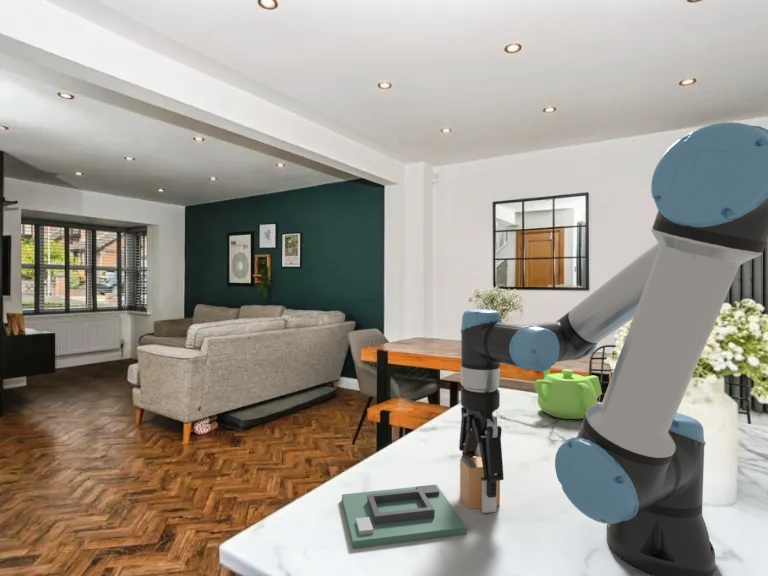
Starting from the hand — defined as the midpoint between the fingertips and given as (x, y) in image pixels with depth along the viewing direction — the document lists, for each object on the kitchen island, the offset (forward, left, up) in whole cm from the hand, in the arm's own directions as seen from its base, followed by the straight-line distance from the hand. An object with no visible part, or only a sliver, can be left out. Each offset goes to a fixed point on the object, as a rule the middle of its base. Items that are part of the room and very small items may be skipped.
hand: (479, 499), depth 89 cm
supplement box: (+15, -9, 0) cm, 18 cm away
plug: (0, 0, 0) cm, 0 cm away
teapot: (+48, -52, 0) cm, 70 cm away
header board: (-2, +17, 0) cm, 17 cm away
